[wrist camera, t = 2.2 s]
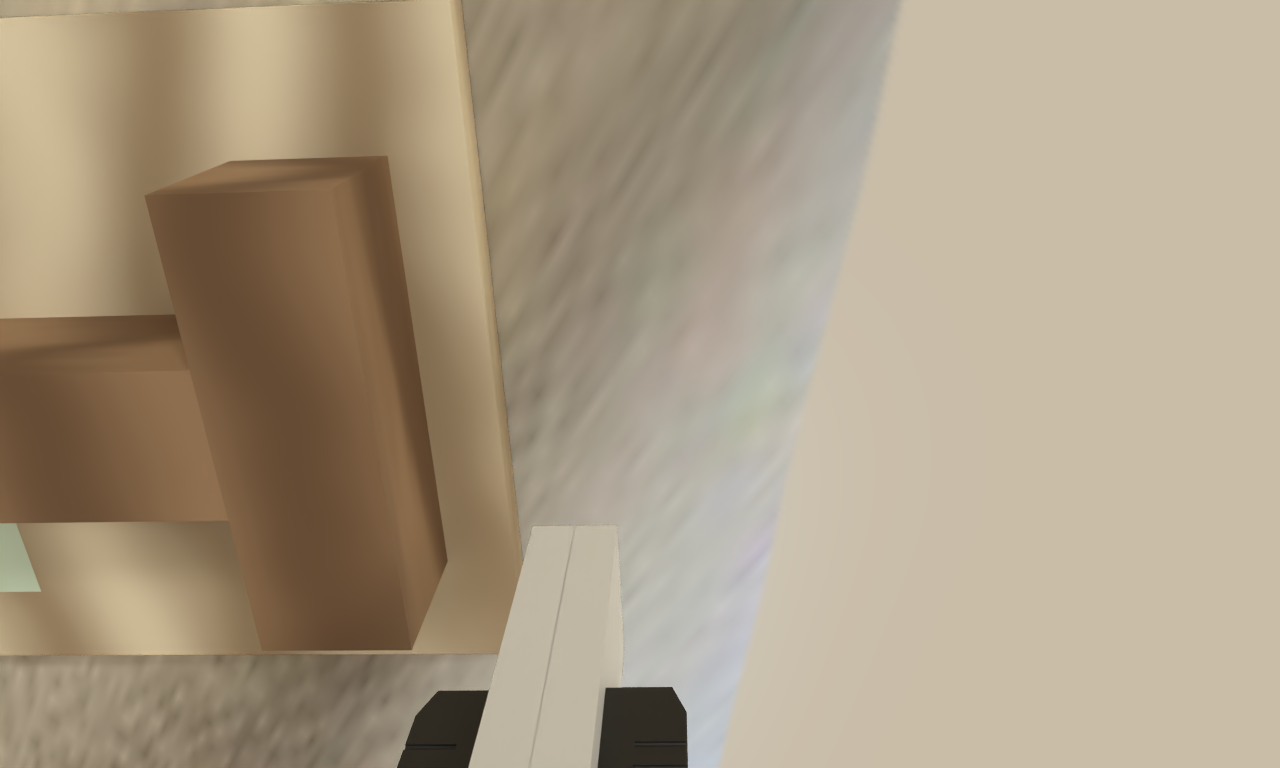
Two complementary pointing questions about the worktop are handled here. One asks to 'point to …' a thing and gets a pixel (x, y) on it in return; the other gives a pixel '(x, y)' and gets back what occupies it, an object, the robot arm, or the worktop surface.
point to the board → (136, 285)
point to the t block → (251, 402)
